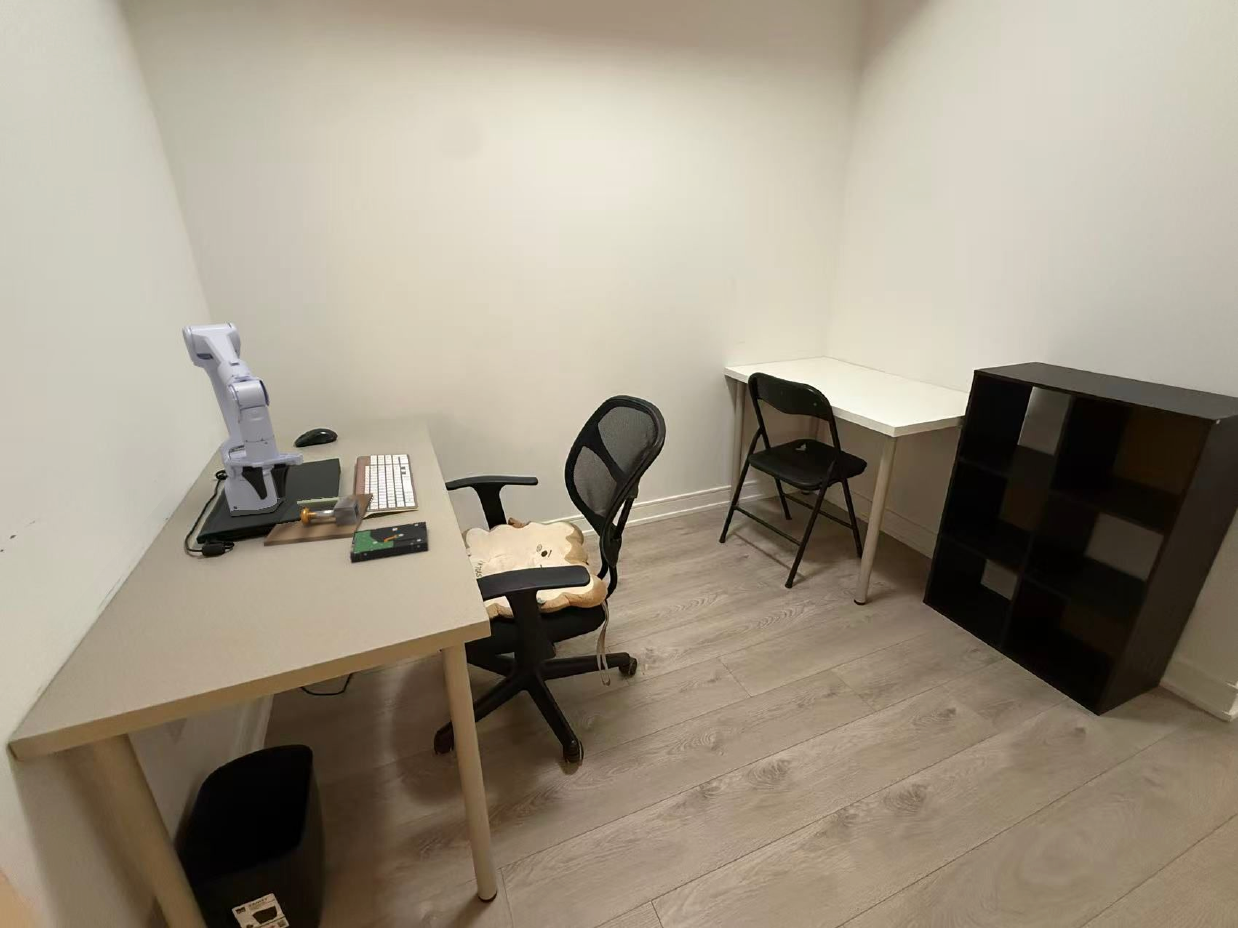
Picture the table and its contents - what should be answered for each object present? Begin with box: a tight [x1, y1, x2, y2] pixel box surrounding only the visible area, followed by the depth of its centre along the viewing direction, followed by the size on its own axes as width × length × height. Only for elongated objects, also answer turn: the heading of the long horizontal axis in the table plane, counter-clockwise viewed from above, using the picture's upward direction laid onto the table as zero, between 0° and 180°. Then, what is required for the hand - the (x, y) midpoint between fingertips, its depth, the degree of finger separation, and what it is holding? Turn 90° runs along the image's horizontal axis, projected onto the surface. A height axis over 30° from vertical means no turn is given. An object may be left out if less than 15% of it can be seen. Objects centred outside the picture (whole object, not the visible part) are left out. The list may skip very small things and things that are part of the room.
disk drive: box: [349, 521, 429, 564], centre depth 120 cm, size 10×3×15 cm
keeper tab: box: [297, 497, 342, 509], centre depth 133 cm, size 9×6×1 cm
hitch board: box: [262, 492, 374, 547], centre depth 131 cm, size 18×22×5 cm
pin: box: [300, 508, 335, 524], centre depth 127 cm, size 8×3×3 cm, turn 102°
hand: (273, 497), depth 124 cm, fingers open, 3 cm apart
